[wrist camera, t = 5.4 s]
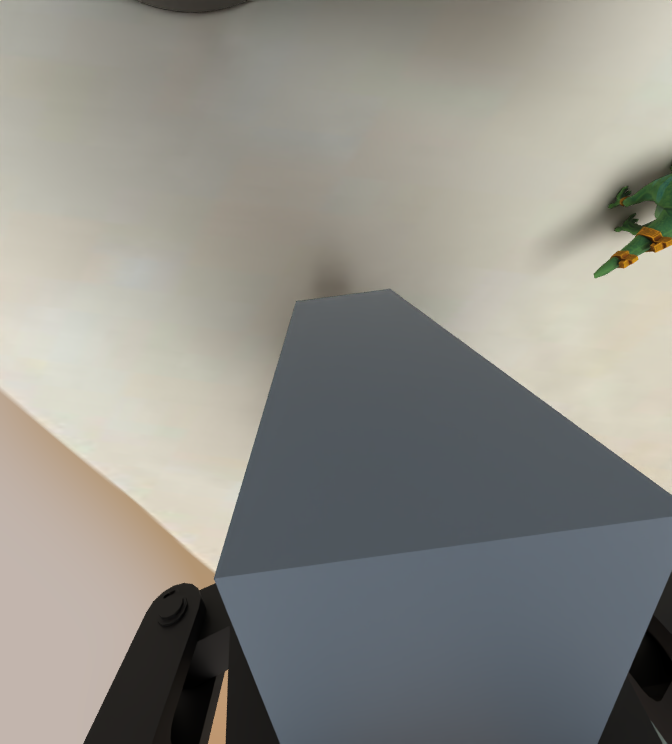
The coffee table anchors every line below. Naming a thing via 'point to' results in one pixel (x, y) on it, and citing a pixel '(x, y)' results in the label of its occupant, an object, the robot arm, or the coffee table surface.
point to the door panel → (432, 544)
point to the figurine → (650, 237)
